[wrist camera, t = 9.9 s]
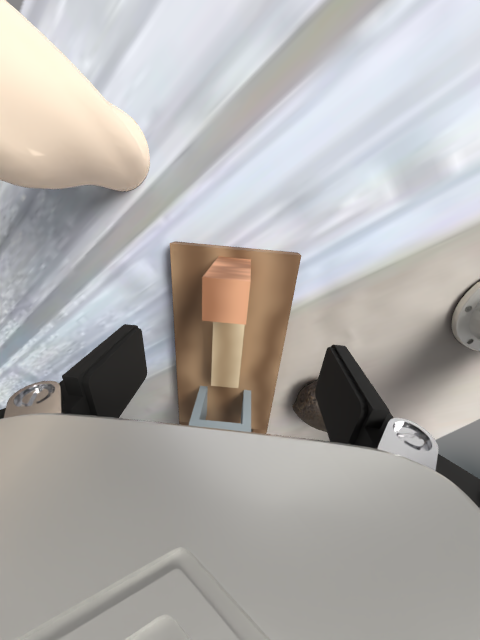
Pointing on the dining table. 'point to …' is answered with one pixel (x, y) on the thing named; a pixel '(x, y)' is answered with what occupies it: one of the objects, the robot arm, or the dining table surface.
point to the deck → (259, 332)
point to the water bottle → (59, 119)
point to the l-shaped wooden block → (226, 315)
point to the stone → (309, 407)
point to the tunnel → (200, 416)
